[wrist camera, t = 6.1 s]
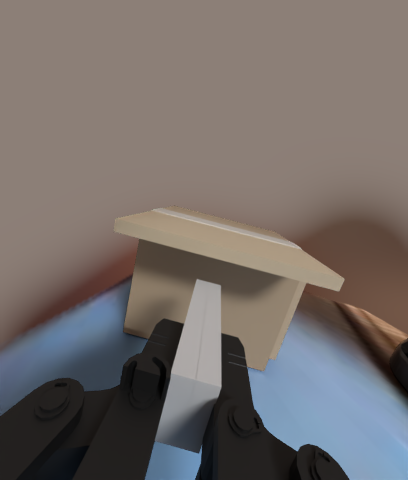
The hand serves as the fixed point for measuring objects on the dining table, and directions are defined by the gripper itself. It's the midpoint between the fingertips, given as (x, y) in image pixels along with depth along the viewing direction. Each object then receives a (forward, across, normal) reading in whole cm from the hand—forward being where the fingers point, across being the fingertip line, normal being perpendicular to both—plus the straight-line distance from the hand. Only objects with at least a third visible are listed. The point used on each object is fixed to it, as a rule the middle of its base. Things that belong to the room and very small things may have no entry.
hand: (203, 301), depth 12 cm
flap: (+8, +1, +3) cm, 8 cm away
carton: (+10, +1, -8) cm, 13 cm away
